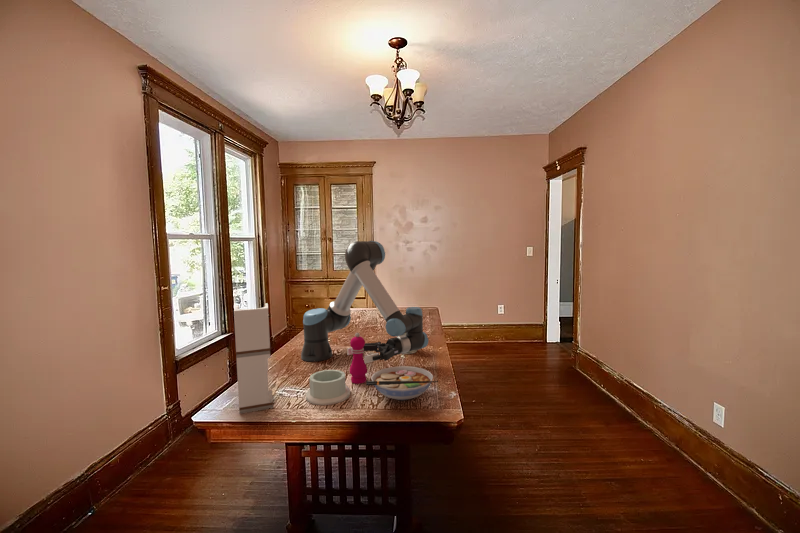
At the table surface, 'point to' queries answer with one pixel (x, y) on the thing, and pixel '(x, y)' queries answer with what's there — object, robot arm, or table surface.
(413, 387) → the ramen bowl
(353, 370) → the pepper mill
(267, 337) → the spiral stair tower
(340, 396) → the well
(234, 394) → the table surface
